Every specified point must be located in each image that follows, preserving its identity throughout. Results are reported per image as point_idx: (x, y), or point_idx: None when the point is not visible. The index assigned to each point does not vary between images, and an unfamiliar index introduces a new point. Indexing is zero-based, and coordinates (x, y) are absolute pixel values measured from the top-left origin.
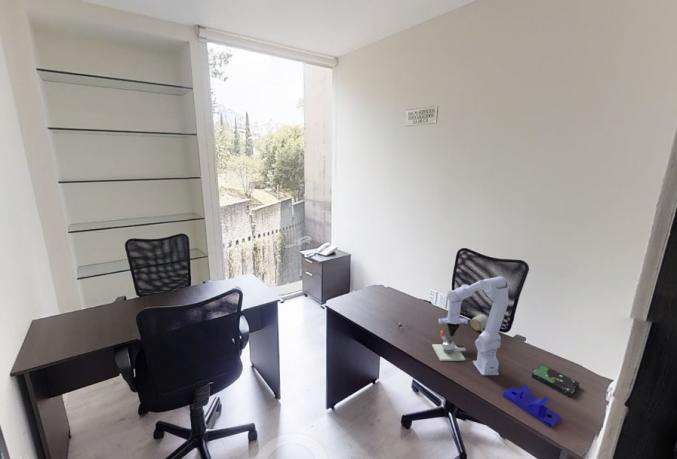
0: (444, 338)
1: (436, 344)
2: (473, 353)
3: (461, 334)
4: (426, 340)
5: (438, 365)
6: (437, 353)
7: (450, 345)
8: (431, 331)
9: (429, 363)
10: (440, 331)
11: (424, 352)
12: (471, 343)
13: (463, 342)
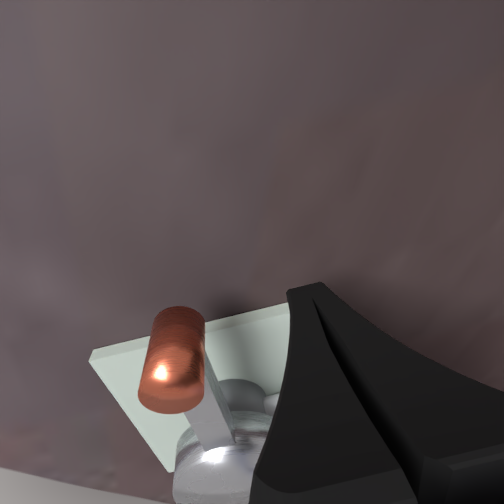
0: (199, 426)
1: (131, 353)
2: (423, 351)
3: (488, 41)
4: (16, 285)
5: (157, 486)
6: (146, 438)
7: (245, 502)
8: (28, 36)
9: (102, 488)
10: (138, 398)
11: (46, 428)
12: (490, 227)
13: (418, 229)
